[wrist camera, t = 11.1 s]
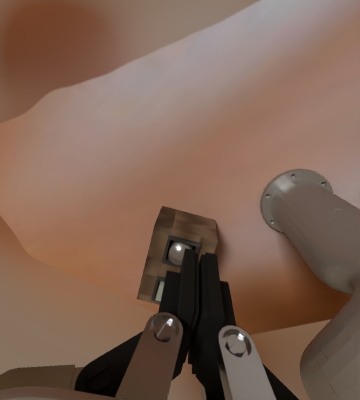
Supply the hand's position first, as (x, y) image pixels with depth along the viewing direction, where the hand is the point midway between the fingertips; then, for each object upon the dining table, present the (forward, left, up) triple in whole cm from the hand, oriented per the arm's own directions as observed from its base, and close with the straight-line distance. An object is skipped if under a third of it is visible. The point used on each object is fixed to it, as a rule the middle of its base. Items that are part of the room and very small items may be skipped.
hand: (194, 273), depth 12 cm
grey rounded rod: (-1, +15, -31) cm, 34 cm away
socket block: (-1, +19, -31) cm, 36 cm away
